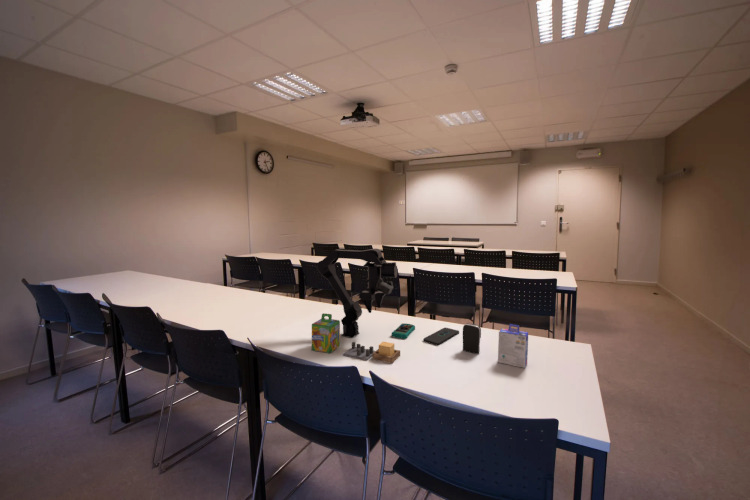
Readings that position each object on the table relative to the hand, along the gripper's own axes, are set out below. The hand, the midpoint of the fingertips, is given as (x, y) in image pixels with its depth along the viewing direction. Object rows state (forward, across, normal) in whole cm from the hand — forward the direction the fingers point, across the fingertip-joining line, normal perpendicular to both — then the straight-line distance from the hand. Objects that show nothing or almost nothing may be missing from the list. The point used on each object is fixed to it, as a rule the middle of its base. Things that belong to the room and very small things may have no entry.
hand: (374, 310), depth 149 cm
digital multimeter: (+14, +11, -10) cm, 20 cm away
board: (+13, -19, -3) cm, 23 cm away
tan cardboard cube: (+13, -17, -14) cm, 25 cm away
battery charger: (+13, +4, -43) cm, 45 cm away
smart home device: (+14, +14, -28) cm, 34 cm away
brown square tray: (+13, -17, -14) cm, 26 cm away
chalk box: (+13, -20, +13) cm, 27 cm away
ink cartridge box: (+13, 0, -59) cm, 60 cm away
